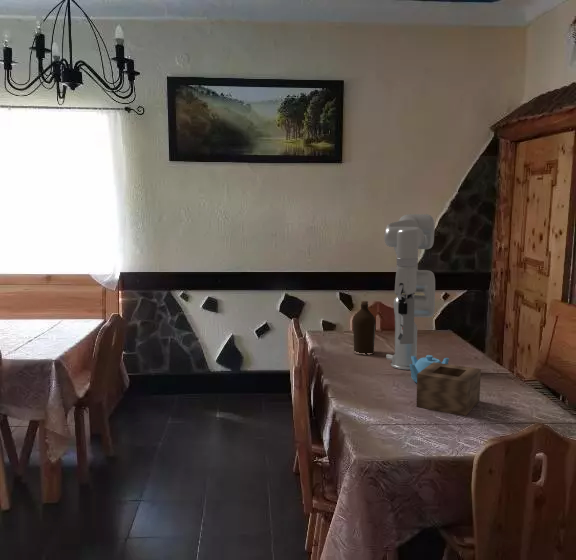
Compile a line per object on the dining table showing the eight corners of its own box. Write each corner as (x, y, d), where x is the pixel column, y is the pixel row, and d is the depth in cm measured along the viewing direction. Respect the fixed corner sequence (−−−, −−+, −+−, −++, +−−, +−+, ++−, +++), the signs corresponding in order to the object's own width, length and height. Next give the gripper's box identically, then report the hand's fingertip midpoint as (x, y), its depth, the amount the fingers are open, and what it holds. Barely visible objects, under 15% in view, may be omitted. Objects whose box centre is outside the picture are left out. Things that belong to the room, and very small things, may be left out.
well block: (416, 406, 212) (417, 373, 211) (432, 392, 227) (433, 362, 225) (465, 415, 203) (467, 381, 201) (479, 401, 218) (480, 369, 216)
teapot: (407, 385, 236) (407, 359, 235) (410, 374, 250) (411, 349, 249) (447, 389, 232) (447, 362, 230) (448, 377, 246) (449, 352, 245)
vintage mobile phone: (397, 341, 221) (398, 274, 217) (410, 341, 221) (412, 274, 217) (400, 344, 217) (401, 276, 213) (413, 343, 218) (415, 275, 214)
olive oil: (356, 356, 279) (357, 303, 276) (349, 350, 290) (350, 300, 286) (378, 355, 282) (379, 302, 278) (370, 349, 292) (371, 299, 289)
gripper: (405, 260, 224) (404, 307, 227) (387, 265, 210) (387, 315, 212) (425, 261, 220) (424, 309, 223) (408, 266, 206) (407, 317, 208)
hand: (406, 311), depth 218 cm, fingers closed on vintage mobile phone, 5 cm apart
